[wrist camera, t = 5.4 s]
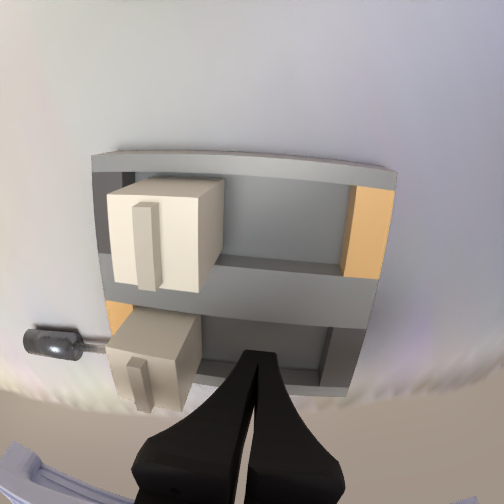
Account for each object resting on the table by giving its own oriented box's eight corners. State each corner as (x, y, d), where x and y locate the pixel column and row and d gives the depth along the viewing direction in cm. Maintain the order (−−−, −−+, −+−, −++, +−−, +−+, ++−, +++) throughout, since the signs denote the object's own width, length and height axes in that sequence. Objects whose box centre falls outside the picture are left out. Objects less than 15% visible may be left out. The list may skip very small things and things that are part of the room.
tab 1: (224, 177, 13) (192, 202, 8) (222, 248, 14) (194, 302, 10) (155, 175, 13) (96, 198, 9) (156, 242, 14) (106, 289, 10)
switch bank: (381, 166, 13) (397, 172, 11) (341, 369, 17) (345, 397, 15) (116, 151, 14) (91, 155, 12) (134, 344, 18) (119, 367, 16)
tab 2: (200, 306, 15) (169, 371, 11) (202, 355, 16) (177, 422, 12) (142, 298, 15) (98, 355, 11) (148, 347, 16) (113, 406, 12)
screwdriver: (159, 330, 17) (147, 349, 15) (167, 355, 18) (156, 375, 16) (33, 324, 19) (19, 337, 17) (43, 344, 19) (30, 358, 18)
